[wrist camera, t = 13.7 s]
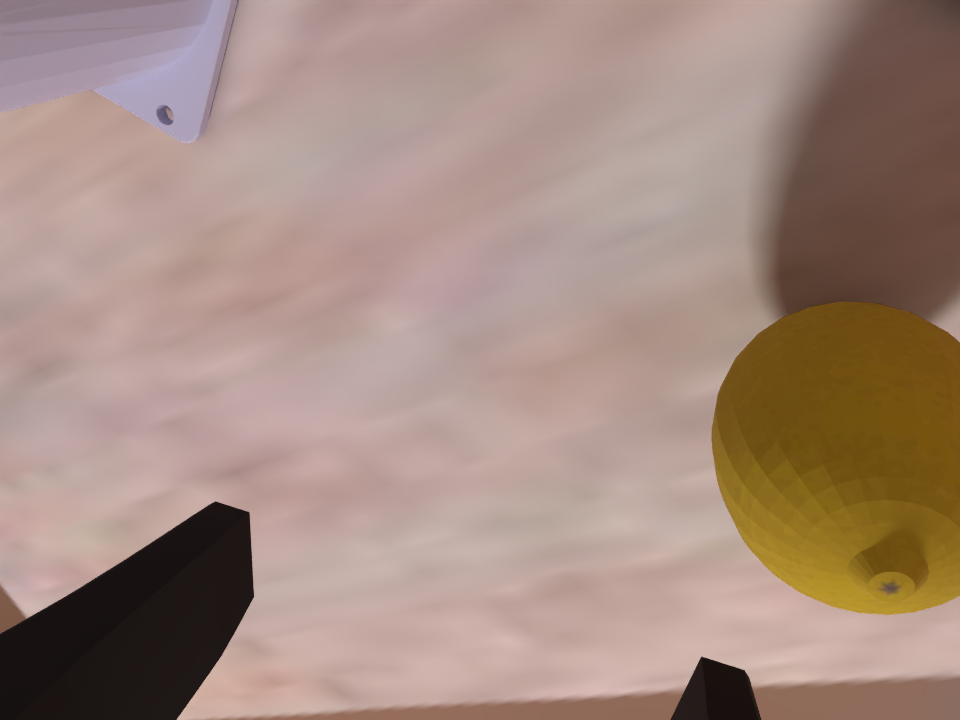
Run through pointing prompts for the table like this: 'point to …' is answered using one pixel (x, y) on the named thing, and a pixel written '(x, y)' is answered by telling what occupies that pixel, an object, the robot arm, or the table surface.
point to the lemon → (847, 455)
